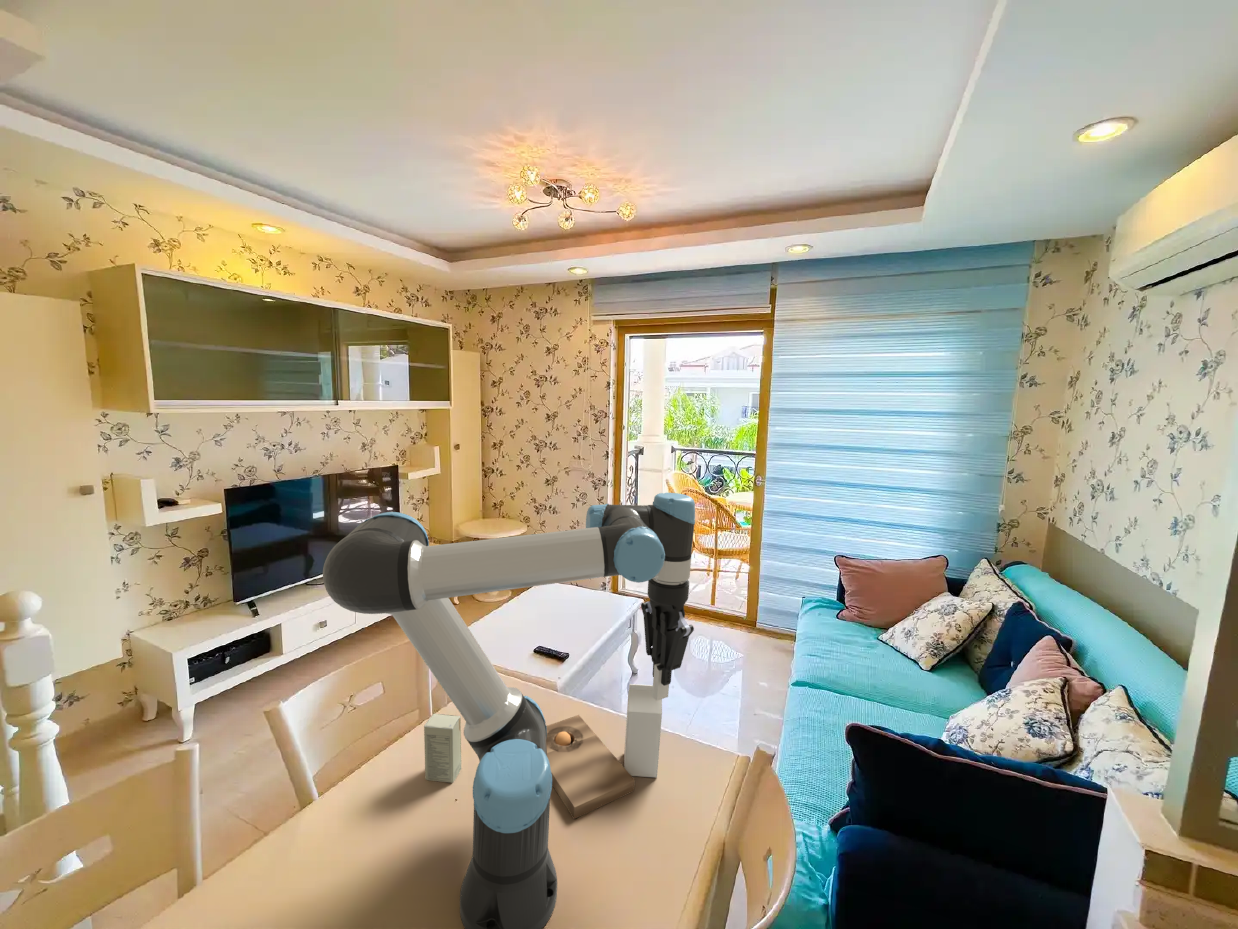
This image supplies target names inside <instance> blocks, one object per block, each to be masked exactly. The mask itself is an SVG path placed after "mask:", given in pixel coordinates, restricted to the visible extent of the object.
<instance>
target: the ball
mask: <svg viewBox="0 0 1238 929" xmlns="http://www.w3.org/2000/svg"><path fill="white" fill-rule="evenodd" d="M555 742H556V744H558V745H561V746H568V745H570V744H571V737H570V735H569V734H568V733H567V732H560V733H558V734H557V736H556V738H555Z"/></svg>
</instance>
